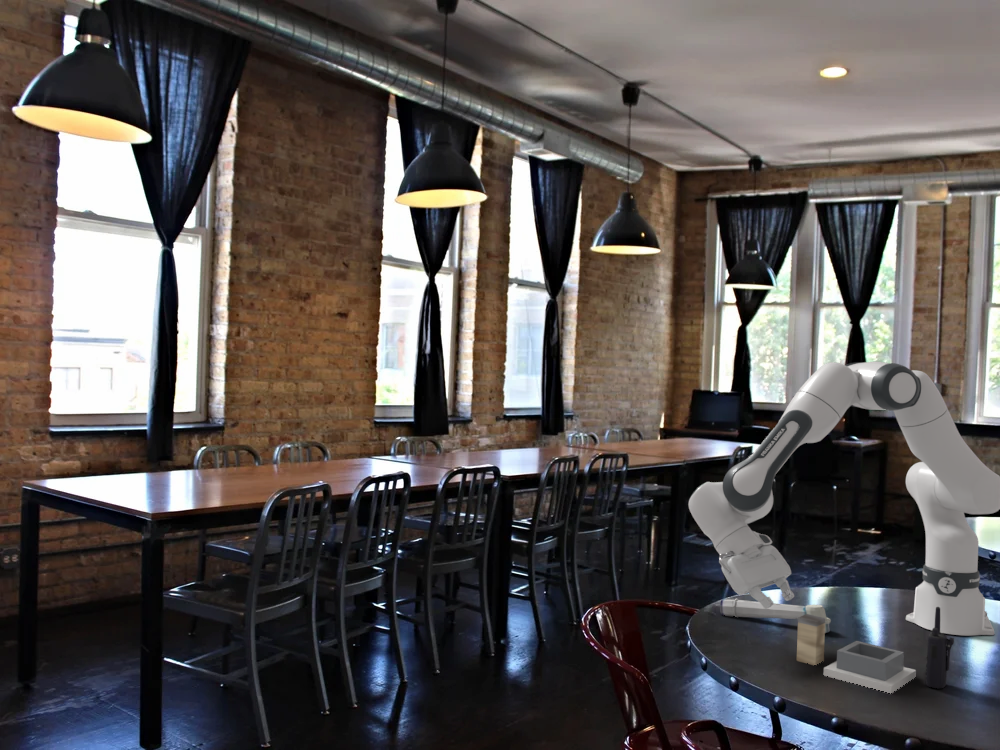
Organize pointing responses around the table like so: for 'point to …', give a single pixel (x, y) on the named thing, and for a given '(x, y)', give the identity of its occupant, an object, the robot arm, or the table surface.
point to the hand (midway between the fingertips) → (780, 602)
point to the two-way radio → (937, 655)
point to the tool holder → (870, 667)
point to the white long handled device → (771, 610)
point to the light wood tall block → (810, 639)
